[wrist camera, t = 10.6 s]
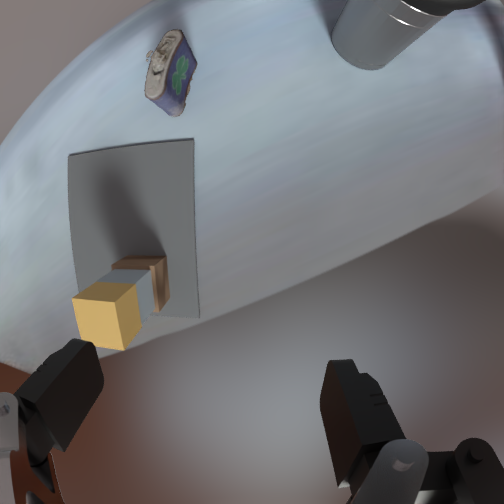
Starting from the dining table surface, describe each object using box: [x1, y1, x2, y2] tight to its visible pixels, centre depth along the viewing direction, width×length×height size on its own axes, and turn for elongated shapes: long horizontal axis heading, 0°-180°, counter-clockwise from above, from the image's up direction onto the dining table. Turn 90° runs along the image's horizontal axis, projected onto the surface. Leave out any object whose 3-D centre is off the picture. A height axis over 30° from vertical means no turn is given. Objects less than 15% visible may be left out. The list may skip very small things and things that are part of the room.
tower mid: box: [96, 269, 155, 325], centre depth 31 cm, size 5×5×5 cm
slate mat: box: [68, 140, 200, 318], centre depth 37 cm, size 24×20×1 cm
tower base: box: [111, 255, 170, 312], centre depth 35 cm, size 6×6×5 cm
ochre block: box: [72, 282, 142, 350], centre depth 26 cm, size 5×5×5 cm
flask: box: [144, 30, 197, 117], centre depth 27 cm, size 9×3×11 cm, turn 167°
